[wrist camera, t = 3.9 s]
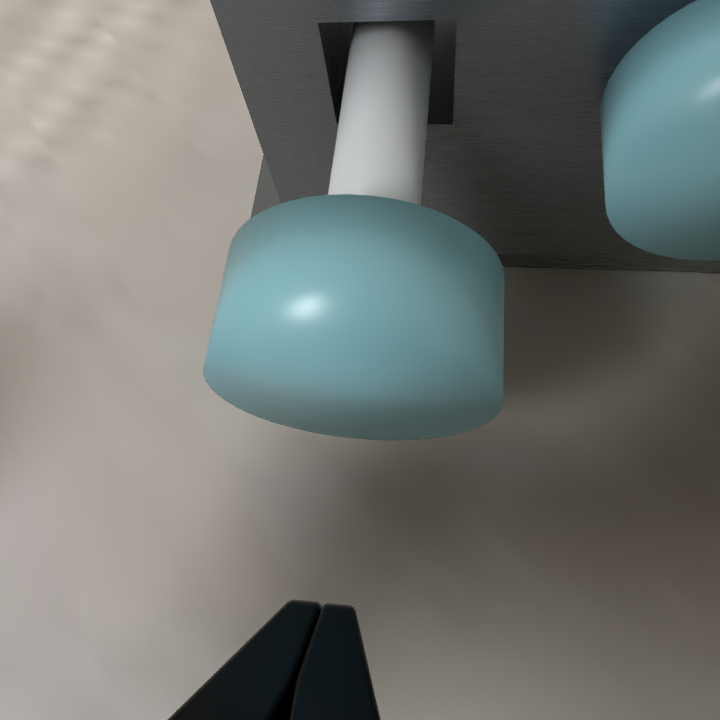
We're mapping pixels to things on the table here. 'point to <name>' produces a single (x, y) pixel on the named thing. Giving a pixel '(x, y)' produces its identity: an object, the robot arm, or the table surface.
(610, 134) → the seated knob
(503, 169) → the mount
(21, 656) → the table surface
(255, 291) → the popped knob
